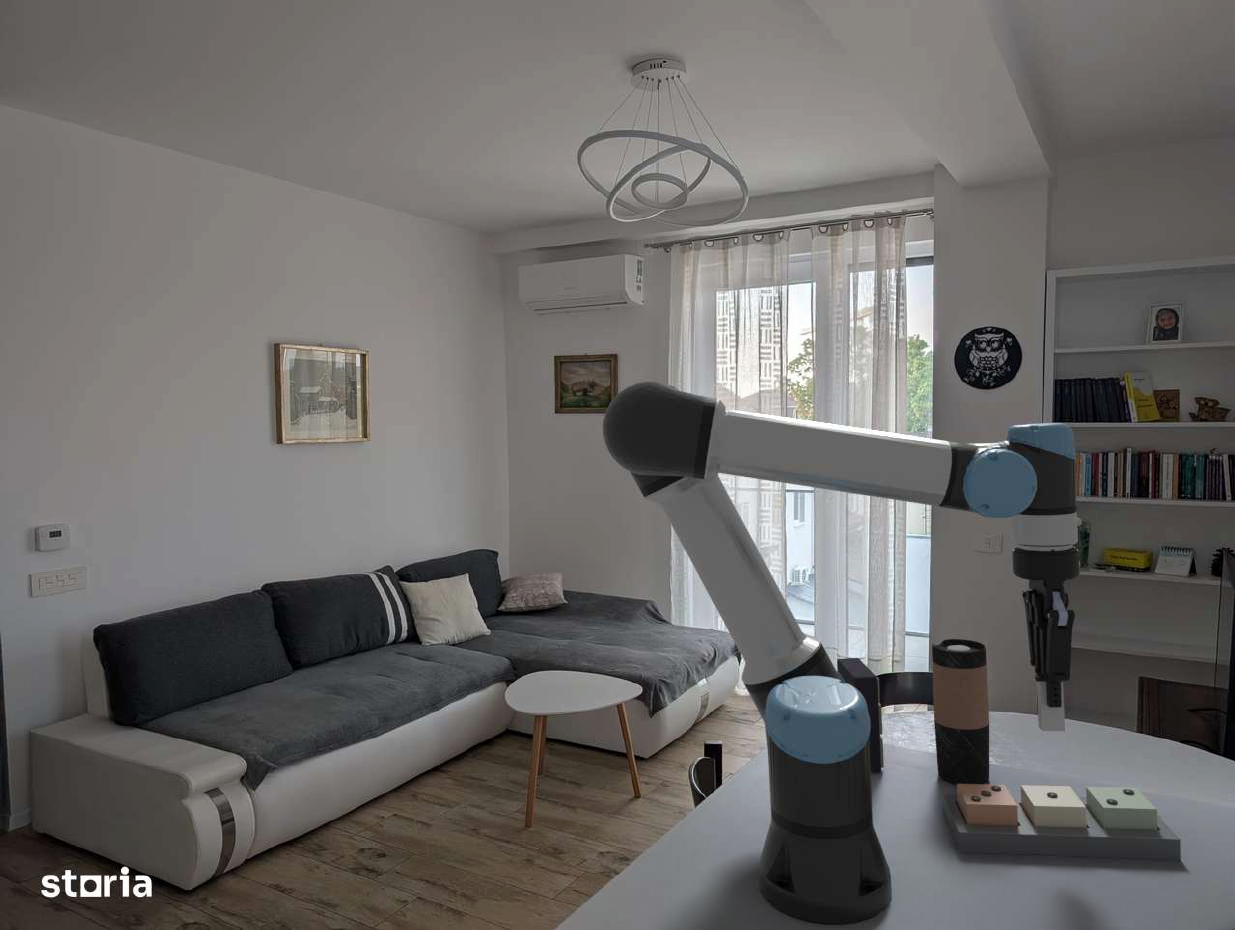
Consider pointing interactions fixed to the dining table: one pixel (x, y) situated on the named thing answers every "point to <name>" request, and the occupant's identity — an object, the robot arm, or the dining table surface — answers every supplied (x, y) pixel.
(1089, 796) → the button two
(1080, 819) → the button one
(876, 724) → the calculator
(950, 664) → the travel mug
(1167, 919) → the dining table surface
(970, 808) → the button three
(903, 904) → the dining table surface
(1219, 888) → the dining table surface
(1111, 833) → the keypad board
